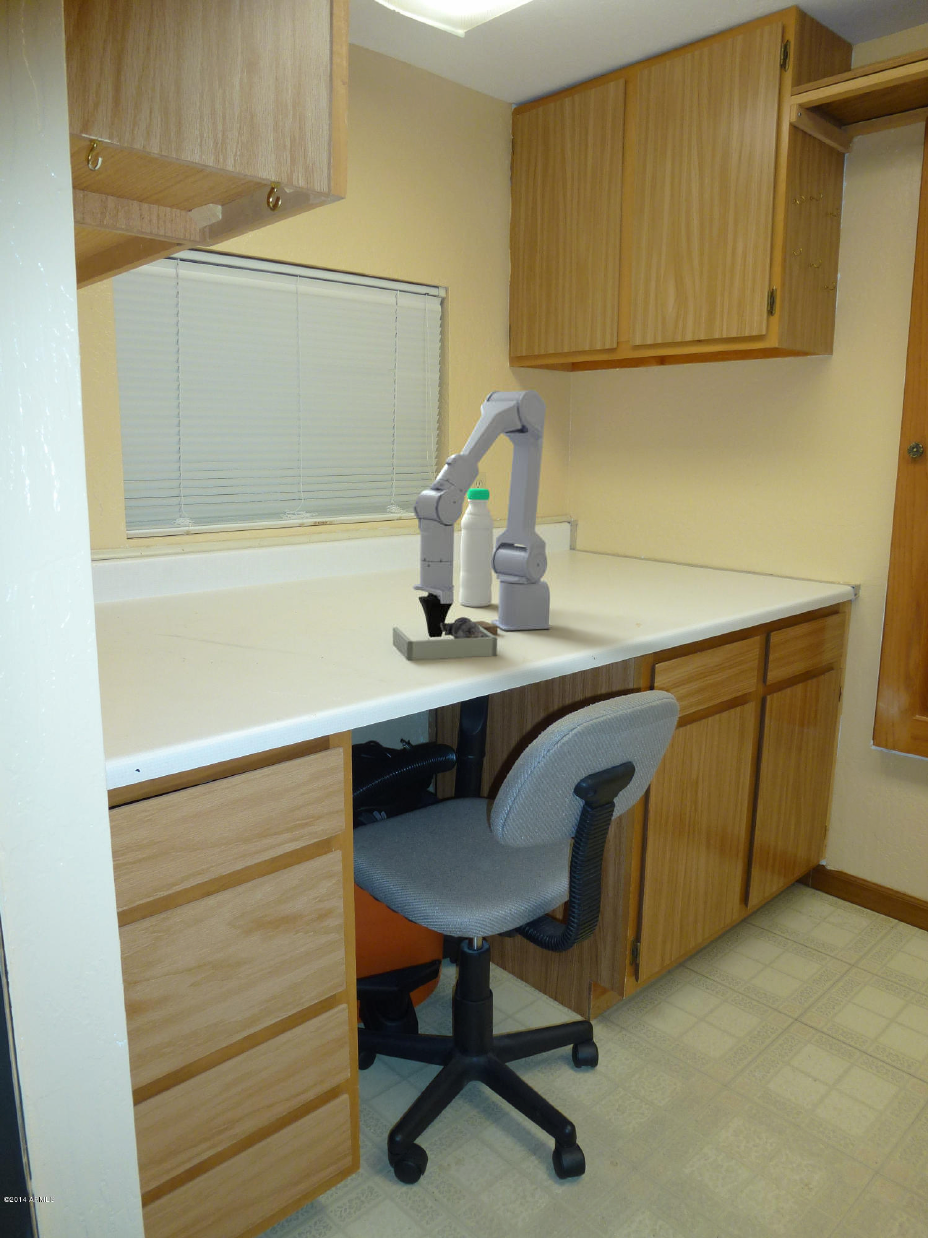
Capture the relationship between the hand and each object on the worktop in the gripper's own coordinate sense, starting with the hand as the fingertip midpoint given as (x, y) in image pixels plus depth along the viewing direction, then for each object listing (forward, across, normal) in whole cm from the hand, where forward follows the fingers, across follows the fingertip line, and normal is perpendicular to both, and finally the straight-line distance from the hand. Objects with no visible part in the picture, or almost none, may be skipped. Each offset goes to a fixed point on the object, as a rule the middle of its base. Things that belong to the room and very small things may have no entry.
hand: (435, 636), depth 152 cm
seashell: (-3, 0, +2) cm, 4 cm away
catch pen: (+1, +5, 0) cm, 5 cm away
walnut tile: (+2, -6, +10) cm, 12 cm away
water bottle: (+1, -33, +18) cm, 38 cm away
